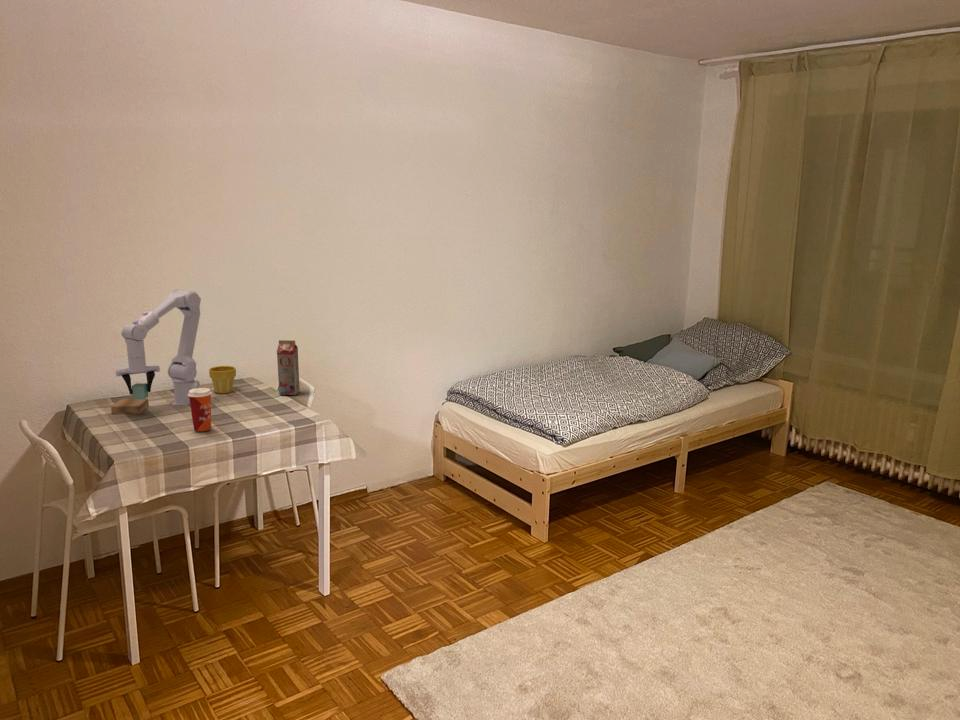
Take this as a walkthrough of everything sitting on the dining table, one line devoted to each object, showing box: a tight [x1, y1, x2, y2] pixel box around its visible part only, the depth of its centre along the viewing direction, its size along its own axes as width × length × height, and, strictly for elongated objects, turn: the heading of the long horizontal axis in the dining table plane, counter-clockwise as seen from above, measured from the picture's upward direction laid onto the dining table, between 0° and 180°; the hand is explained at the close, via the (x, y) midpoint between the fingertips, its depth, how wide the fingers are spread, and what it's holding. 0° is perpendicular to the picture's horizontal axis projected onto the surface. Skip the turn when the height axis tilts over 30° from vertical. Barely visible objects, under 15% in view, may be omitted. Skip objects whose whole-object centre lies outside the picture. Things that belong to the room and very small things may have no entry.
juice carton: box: [276, 339, 301, 396], centre depth 297 cm, size 7×7×22 cm
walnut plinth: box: [110, 398, 149, 415], centre depth 273 cm, size 10×10×3 cm
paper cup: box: [188, 387, 212, 432], centre depth 252 cm, size 8×8×14 cm
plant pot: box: [208, 365, 237, 394], centre depth 299 cm, size 10×10×10 cm
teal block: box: [131, 382, 149, 400], centre depth 266 cm, size 4×4×5 cm
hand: (140, 392), depth 266 cm, fingers closed on teal block, 5 cm apart
